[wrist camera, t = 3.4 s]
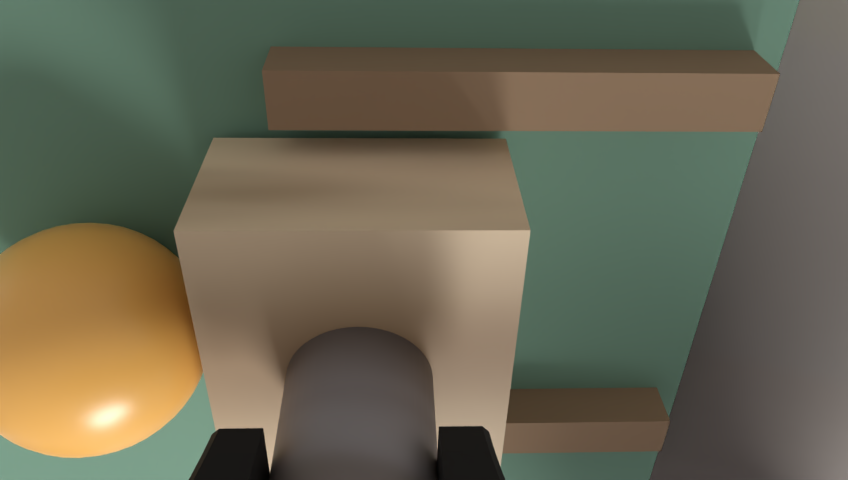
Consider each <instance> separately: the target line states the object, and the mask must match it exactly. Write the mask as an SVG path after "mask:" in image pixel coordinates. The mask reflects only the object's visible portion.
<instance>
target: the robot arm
mask: <svg viewBox="0 0 848 480" xmlns="http://www.w3.org/2000/svg"><path fill="white" fill-rule="evenodd" d="M437 472H438V480H505V477H504V475H503V472H502V470H501V467H500V464H499V461H498V458H497V455H496V453H495V450H494V447H493V443H492V440H491V436H490V433H489V431H488V430H487V429H485V428H484V427H483V426H439V432H438V449H437ZM269 477H270V470H269V464H268V457H267V450H266V443H265V436H264V430H263V428H224V429H218V430H217V431H215V432H214V433H213V434H212V435H211V437H210V439H209V441H208V443H207V445H206V447H205V450H204V452H203V453H202V455H201V457H200V459H199V461H198V463H197V465H196V467H195V469H194V471H193V473H192V474H191V476H190V478H189V480H269Z"/></svg>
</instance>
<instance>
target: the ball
mask: <svg viewBox="0 0 848 480" xmlns="http://www.w3.org/2000/svg"><path fill="white" fill-rule="evenodd" d="M202 374H203V369H202V364H201V359H200V354H199V350H198V345H197V340H196V335H195V331H194V326H193V321H192V316H191V312H190V307H189V302H188V297H187V293H186V288H185V283H184V278H183V274H182V269H181V264H180V260H179V258H178V257H177V256H176V255H174V254H173V253H172V252H171V251H170V250H169V249H167V248H166V247H165V246H163V245H162V244H160V243H158V242H157V241H155V240H154V239H152V238H150V237H148V236H146V235H144V234H142V233H140V232H137V231H134V230H131V229H128V228H125V227H121V226H116V225H111V224H101V223H73V224H67V225H61V226H56V227H53V228H49V229H46V230H43V231H40V232H37V233H35V234H33V235H31V236H28V237H26V238H24V239H22V240H20V241H19V242H17V243H15V244H14V245H12V246H10V247H9V248H7V249H6V250H5V251H3V252H2V253H1V254H0V435H1V436H3V437H4V438H6V439H7V440H9V441H10V442H12V443H14V444H16V445H18V446H21V447H23V448H25V449H28V450H31V451H34V452H38V453H41V454H44V455H49V456H56V457H62V458H83V457H93V456H100V455H105V454H109V453H113V452H117V451H120V450H123V449H125V448H128V447H131V446H133V445H135V444H137V443H139V442H141V441H143V440H145V439H147V438H148V437H150V436H151V435H153V434H154V433H156V432H157V431H158V430H160V429H161V428H162V427H163V426H165V425H166V424H167V423H168V422H169V421H170V420H172V419H173V418H174V417H175V416H176V415H177V413H178V412H179V411H180V410H181V409H182V408H183V407H184V406H185V404H186V403H187V401H188V400H189V398H190V397H191V396H192V394H193V393H194V391H195V389H196V387H197V385H198V383H199V381H200V379H201V376H202Z"/></svg>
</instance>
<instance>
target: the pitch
mask: <svg viewBox="0 0 848 480" xmlns="http://www.w3.org/2000/svg"><path fill="white" fill-rule="evenodd" d="M798 4H799V0H0V254H1V253H2V252H3V251H5V250H6V249H7V248H9V247H10V246H12V245H14V244H15V243H17V242H19V241H20V240H22V239H24V238H26V237H28V236H31V235H33V234H35V233H37V232H40V231H43V230H46V229H49V228H53V227H56V226H61V225H67V224H73V223H101V224H111V225H116V226H121V227H125V228H128V229H131V230H134V231H137V232H140V233H142V234H144V235H146V236H148V237H150V238H152V239H154V240H155V241H157V242H158V243H160V244H162V245H163V246H165V247H166V248H167V249H169V250H170V251H171V252H172V253H173V254H174V255H176V256H177V257H178V258H179V255H178V250H177V245H176V241H175V236H174V229H175V226H176V224H177V222H178V219H179V217H180V215H181V212H182V210H183V208H184V205H185V203H186V201H187V198H188V196H189V194H190V191H191V189H192V187H193V184H194V182H195V180H196V177H197V175H198V173H199V170H200V168H201V166H202V163H203V161H204V158H205V156H206V154H207V151H208V149H209V147H210V144H211V142H212V140H213V138H452V139H506V141H507V145H508V149H509V152H510V156H511V160H512V163H513V167H514V171H515V175H516V178H517V182H518V186H519V189H520V193H521V197H522V200H523V204H524V208H525V212H526V215H527V219H528V223H529V226H530V230H531V231H530V239H529V246H528V254H527V262H526V270H525V278H524V286H523V294H522V302H521V310H520V317H519V325H518V333H517V341H516V349H515V357H514V365H513V373H512V381H511V388H510V396H509V404H508V412H507V420H506V428H505V436H504V444H503V451H502V459H501V470H502V472H503V475H504V477H505V480H649V479H650V476H651V473H652V470H653V467H654V464H655V460H656V457H657V454H658V451H661V449H662V446H663V443H664V440H665V437H666V433H667V430H668V427H669V424H670V419H669V416H670V412H671V409H672V406H673V403H674V400H675V396H676V393H677V390H678V387H679V384H680V381H681V377H682V374H683V371H684V368H685V365H686V361H687V358H688V355H689V352H690V349H691V345H692V342H693V339H694V336H695V333H696V329H697V326H698V323H699V320H700V317H701V313H702V310H703V307H704V304H705V301H706V297H707V294H708V291H709V288H710V285H711V282H712V278H713V275H714V272H715V269H716V266H717V262H718V259H719V256H720V253H721V250H722V246H723V243H724V240H725V237H726V234H727V230H728V227H729V224H730V221H731V218H732V214H733V211H734V208H735V205H736V202H737V198H738V195H739V192H740V189H741V186H742V183H743V179H744V176H745V173H746V170H747V167H748V163H749V160H750V157H751V154H752V151H753V147H754V144H755V141H756V138H757V135H758V132H762V130H763V127H764V123H765V120H766V117H767V114H768V111H769V108H770V104H771V101H772V98H773V95H774V92H775V89H776V85H777V82H778V79H779V76H780V73H779V72H777V71H778V68H779V64H780V61H781V58H782V55H783V52H784V48H785V45H786V42H787V39H788V36H789V32H790V29H791V26H792V23H793V20H794V16H795V13H796V10H797V7H798ZM215 431H216V430H215V425H214V421H213V416H212V411H211V406H210V402H209V397H208V392H207V387H206V383H205V378H204V373H203V374H202V376H201V379H200V381H199V383H198V385H197V387H196V389H195V391H194V393H193V394H192V396H191V397H190V398H189V400H188V401H187V403H186V404H185V406H184V407H183V408H182V409H181V410H180V411H179V412H178V413H177V415H176V416H175V417H174V418H173V419H172V420H170V421H169V422H168V423H167V424H166V425H165V426H163V427H162V428H161V429H160V430H158V431H157V432H156V433H154V434H153V435H151V436H150V437H148V438H147V439H145V440H143V441H141V442H139V443H137V444H135V445H133V446H131V447H128V448H125V449H123V450H120V451H117V452H113V453H109V454H105V455H100V456H93V457H83V458H62V457H56V456H49V455H44V454H41V453H38V452H34V451H31V450H28V449H25V448H23V447H21V446H18V445H16V444H14V443H12V442H10V441H9V440H7V439H6V438H4V437H3V436H1V435H0V480H189V478H190V476H191V474H192V473H193V471H194V469H195V467H196V465H197V463H198V461H199V459H200V457H201V455H202V453H203V452H204V450H205V447H206V445H207V443H208V441H209V439H210V437H211V435H212V434H213V433H214V432H215Z"/></svg>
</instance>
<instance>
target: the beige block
mask: <svg viewBox="0 0 848 480" xmlns="http://www.w3.org/2000/svg"><path fill="white" fill-rule="evenodd" d="M530 231H531V230H530V226H529V223H528V219H527V215H526V212H525V208H524V204H523V200H522V197H521V193H520V189H519V186H518V182H517V178H516V175H515V171H514V167H513V163H512V160H511V156H510V152H509V149H508V145H507V141H506V139H452V138H213V140H212V142H211V144H210V147H209V149H208V151H207V154H206V156H205V158H204V161H203V163H202V166H201V168H200V170H199V173H198V175H197V177H196V180H195V182H194V184H193V187H192V189H191V191H190V194H189V196H188V198H187V201H186V203H185V205H184V208H183V210H182V212H181V215H180V217H179V219H178V222H177V224H176V226H175V229H174V236H175V241H176V245H177V250H178V255H179V260H180V264H181V269H182V274H183V278H184V283H185V288H186V293H187V297H188V302H189V307H190V312H191V316H192V321H193V326H194V331H195V335H196V340H197V345H198V350H199V354H200V359H201V364H202V369H203V373H204V378H205V383H206V387H207V392H208V397H209V402H210V406H211V411H212V416H213V421H214V425H215V430H216V431H217V430H218V429H224V428H263V430H264V436H265V443H266V450H267V457H268V464H269V470H270V477H269V480H438V472H437V449H438V432H439V426H483V427H484V428H485V429H487V430H488V431H489V433H490V436H491V440H492V443H493V447H494V450H495V453H496V455H497V458H498V461H499V464H500V467H501V459H502V451H503V444H504V436H505V428H506V420H507V412H508V404H509V396H510V388H511V381H512V373H513V365H514V357H515V349H516V341H517V333H518V325H519V317H520V310H521V302H522V294H523V286H524V278H525V270H526V262H527V254H528V246H529V239H530Z"/></svg>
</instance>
